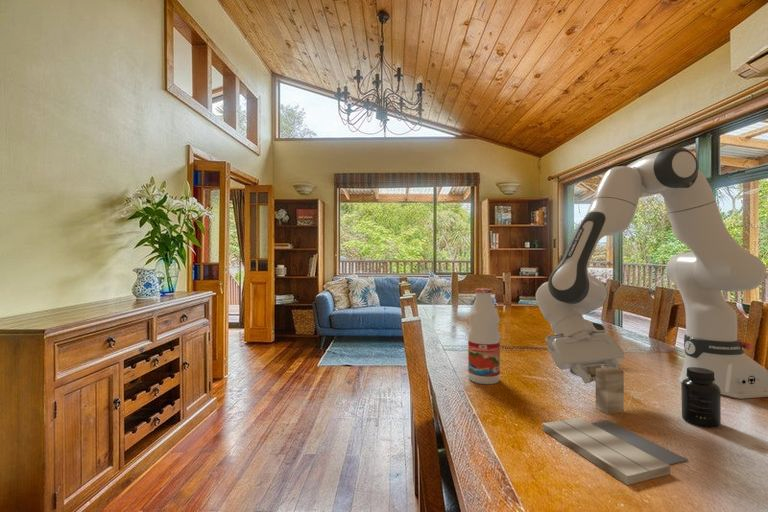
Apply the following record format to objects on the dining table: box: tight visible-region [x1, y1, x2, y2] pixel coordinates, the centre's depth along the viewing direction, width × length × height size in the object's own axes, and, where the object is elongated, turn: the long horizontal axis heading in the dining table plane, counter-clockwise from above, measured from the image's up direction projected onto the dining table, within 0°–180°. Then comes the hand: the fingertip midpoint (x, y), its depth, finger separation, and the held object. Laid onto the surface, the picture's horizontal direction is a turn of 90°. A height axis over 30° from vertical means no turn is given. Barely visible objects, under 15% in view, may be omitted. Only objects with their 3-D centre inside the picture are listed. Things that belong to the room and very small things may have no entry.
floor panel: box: [542, 416, 671, 486], centre depth 73 cm, size 20×10×2 cm, turn 17°
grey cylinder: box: [570, 365, 603, 376], centre depth 119 cm, size 11×8×8 cm
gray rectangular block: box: [595, 366, 625, 415], centre depth 91 cm, size 4×5×10 cm
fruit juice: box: [467, 287, 501, 385], centre depth 113 cm, size 9×9×28 cm
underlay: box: [590, 419, 689, 466], centre depth 76 cm, size 17×7×1 cm, turn 17°
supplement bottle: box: [680, 367, 722, 429], centre depth 84 cm, size 7×7×12 cm
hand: (604, 380), depth 92 cm, fingers open, 8 cm apart
